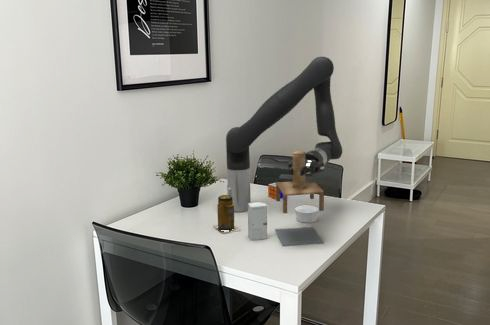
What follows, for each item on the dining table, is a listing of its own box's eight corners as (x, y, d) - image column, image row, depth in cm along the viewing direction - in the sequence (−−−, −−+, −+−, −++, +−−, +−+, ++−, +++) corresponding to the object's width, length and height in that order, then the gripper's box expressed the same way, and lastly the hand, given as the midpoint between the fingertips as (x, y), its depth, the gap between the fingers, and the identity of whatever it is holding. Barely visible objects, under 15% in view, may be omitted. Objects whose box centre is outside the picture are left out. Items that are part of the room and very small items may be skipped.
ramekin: (294, 215, 188) (294, 205, 187) (317, 215, 188) (317, 204, 187) (296, 223, 180) (296, 212, 179) (319, 223, 179) (320, 212, 178)
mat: (282, 246, 160) (282, 245, 160) (275, 230, 174) (275, 229, 173) (323, 243, 162) (323, 242, 162) (312, 227, 175) (312, 226, 175)
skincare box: (250, 240, 165) (250, 207, 162) (247, 235, 169) (247, 203, 166) (268, 238, 166) (267, 205, 164) (264, 233, 171) (264, 201, 168)
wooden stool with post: (283, 213, 158) (283, 158, 153) (276, 200, 171) (275, 149, 166) (323, 210, 159) (324, 155, 155) (313, 197, 172) (313, 147, 168)
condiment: (231, 223, 182) (230, 192, 179) (240, 230, 174) (240, 199, 171) (213, 226, 179) (211, 195, 176) (222, 234, 171) (221, 202, 168)
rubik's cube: (268, 196, 212) (267, 184, 210) (277, 194, 215) (277, 182, 214) (276, 200, 207) (276, 187, 206) (286, 197, 211) (286, 184, 209)
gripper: (295, 148, 176) (276, 159, 162) (332, 151, 170) (316, 163, 155) (295, 168, 178) (276, 180, 164) (332, 172, 172) (315, 185, 157)
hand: (295, 172), depth 159 cm, fingers closed on wooden stool with post, 3 cm apart
